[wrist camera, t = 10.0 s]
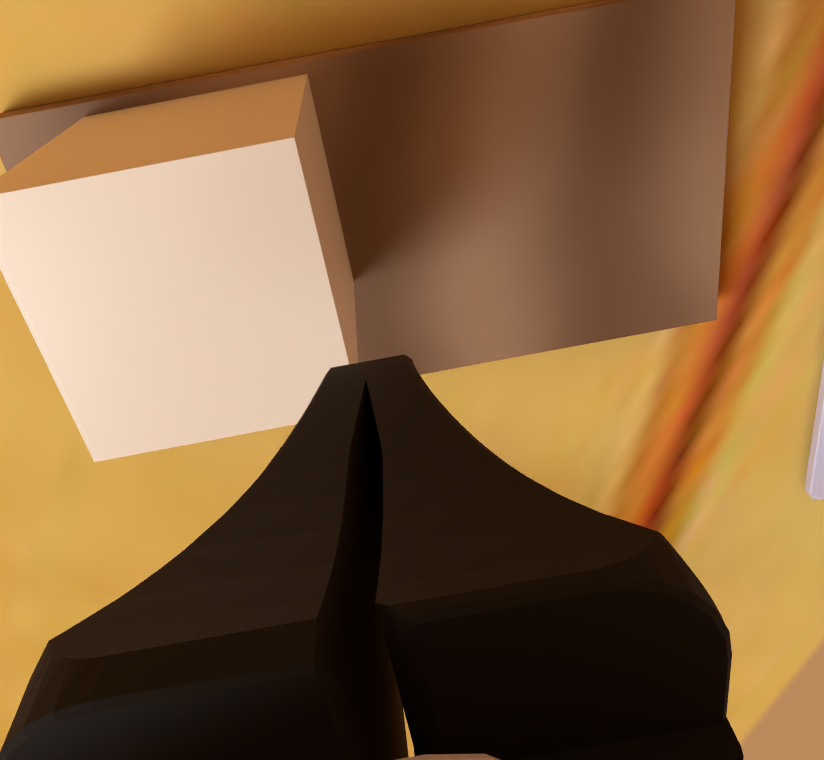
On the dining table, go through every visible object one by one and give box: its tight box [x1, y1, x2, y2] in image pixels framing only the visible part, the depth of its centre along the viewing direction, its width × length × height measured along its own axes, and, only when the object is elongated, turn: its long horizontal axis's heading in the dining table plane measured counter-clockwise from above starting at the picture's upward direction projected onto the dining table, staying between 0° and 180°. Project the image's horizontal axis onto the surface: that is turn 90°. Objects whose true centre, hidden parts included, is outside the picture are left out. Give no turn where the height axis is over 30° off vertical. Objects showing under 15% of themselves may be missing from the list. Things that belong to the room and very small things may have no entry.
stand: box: [0, 0, 736, 375], centre depth 20 cm, size 18×9×1 cm, turn 99°
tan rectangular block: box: [0, 74, 358, 462], centre depth 16 cm, size 5×5×7 cm
